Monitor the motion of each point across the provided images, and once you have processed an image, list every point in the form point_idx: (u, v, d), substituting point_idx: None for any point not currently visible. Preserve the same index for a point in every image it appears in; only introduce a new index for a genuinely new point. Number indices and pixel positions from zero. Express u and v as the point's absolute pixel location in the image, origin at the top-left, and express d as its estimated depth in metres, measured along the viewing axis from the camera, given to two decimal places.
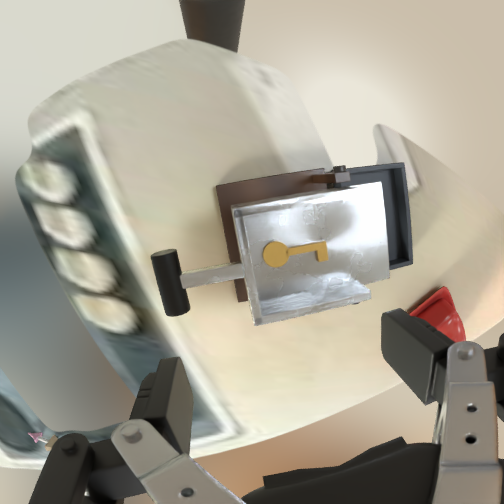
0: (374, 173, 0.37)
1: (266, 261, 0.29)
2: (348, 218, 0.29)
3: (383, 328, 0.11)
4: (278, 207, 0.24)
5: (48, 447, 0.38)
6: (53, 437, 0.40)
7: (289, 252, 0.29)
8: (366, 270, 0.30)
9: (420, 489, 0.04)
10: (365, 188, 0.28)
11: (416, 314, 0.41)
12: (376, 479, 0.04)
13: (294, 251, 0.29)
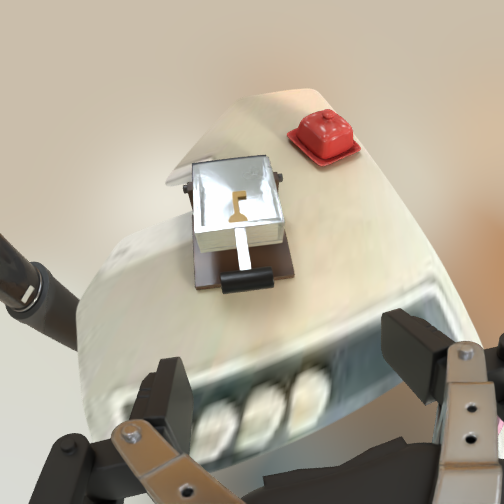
0: None
1: None
2: (218, 181, 0.43)
3: (383, 328, 0.11)
4: (198, 207, 0.36)
5: None
6: None
7: (237, 213, 0.40)
8: (256, 169, 0.44)
9: (420, 489, 0.04)
10: (199, 172, 0.44)
11: (308, 151, 0.57)
12: (376, 479, 0.04)
13: (236, 209, 0.40)
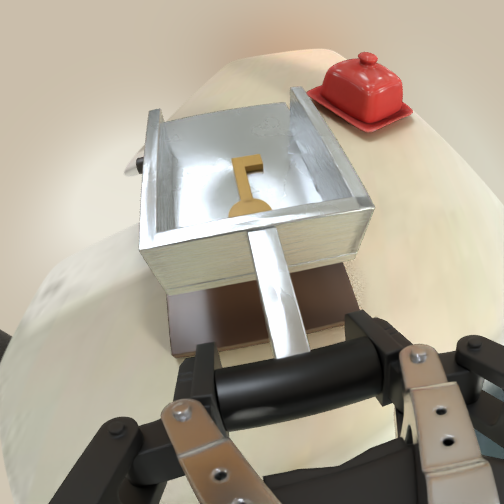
0: None
1: None
2: (204, 143, 0.21)
3: (346, 329, 0.12)
4: (151, 185, 0.14)
5: None
6: None
7: (246, 198, 0.17)
8: (275, 121, 0.22)
9: (420, 489, 0.04)
10: (167, 134, 0.22)
11: (343, 113, 0.35)
12: (376, 479, 0.04)
13: (245, 191, 0.18)
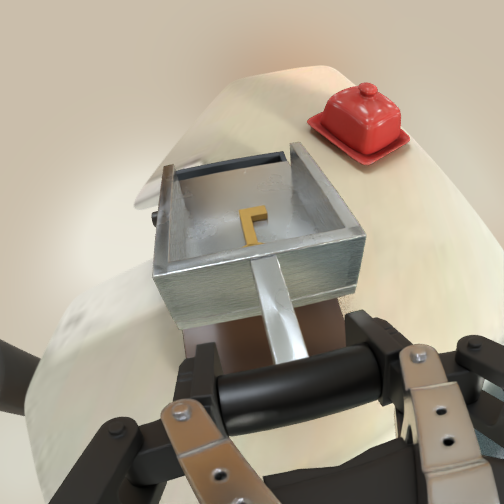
0: None
1: None
2: (213, 198, 0.24)
3: (346, 329, 0.12)
4: (165, 225, 0.16)
5: None
6: None
7: (252, 243, 0.19)
8: (279, 177, 0.25)
9: (420, 489, 0.04)
10: (180, 191, 0.25)
11: (342, 143, 0.38)
12: (376, 479, 0.04)
13: (251, 236, 0.20)
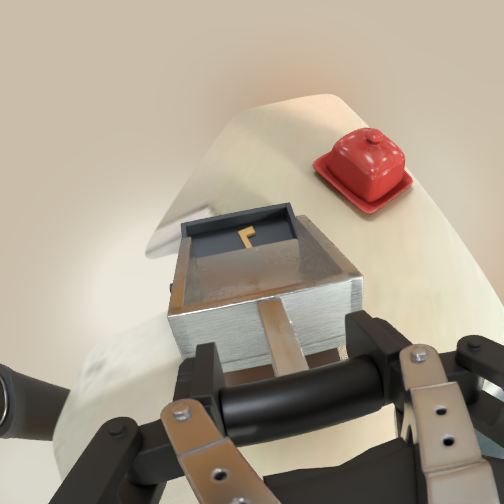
0: None
1: None
2: (227, 271, 0.26)
3: (346, 329, 0.12)
4: (181, 280, 0.18)
5: None
6: None
7: None
8: (288, 252, 0.28)
9: (419, 489, 0.04)
10: (197, 266, 0.28)
11: (346, 190, 0.40)
12: (376, 479, 0.04)
13: None
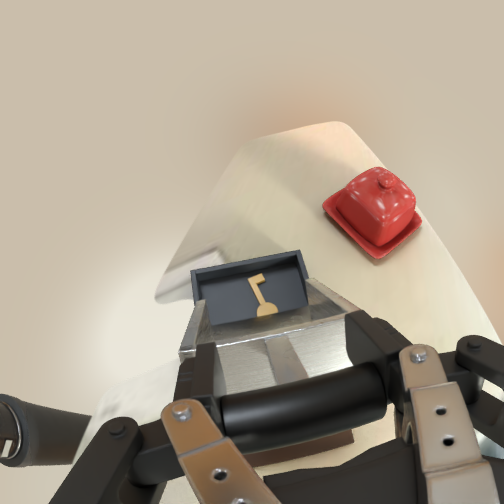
0: None
1: None
2: (241, 334, 0.26)
3: (346, 329, 0.12)
4: (194, 327, 0.19)
5: None
6: None
7: (262, 303, 0.36)
8: (299, 316, 0.28)
9: (420, 489, 0.04)
10: (212, 331, 0.28)
11: (356, 233, 0.40)
12: (376, 479, 0.04)
13: (261, 299, 0.36)
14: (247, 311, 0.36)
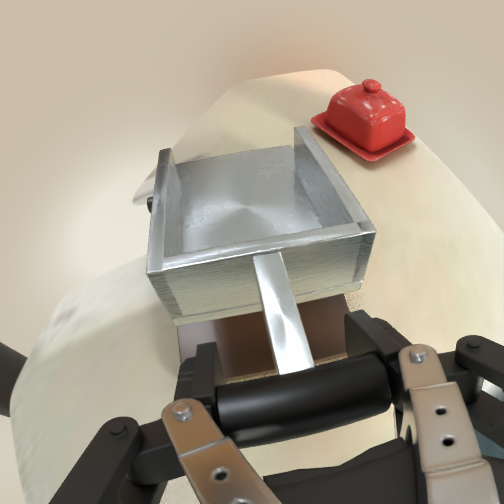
0: None
1: None
2: (212, 184, 0.23)
3: (346, 329, 0.12)
4: (160, 215, 0.15)
5: None
6: None
7: None
8: (281, 162, 0.24)
9: (420, 489, 0.04)
10: (177, 175, 0.24)
11: (346, 141, 0.37)
12: (376, 479, 0.04)
13: None
14: None
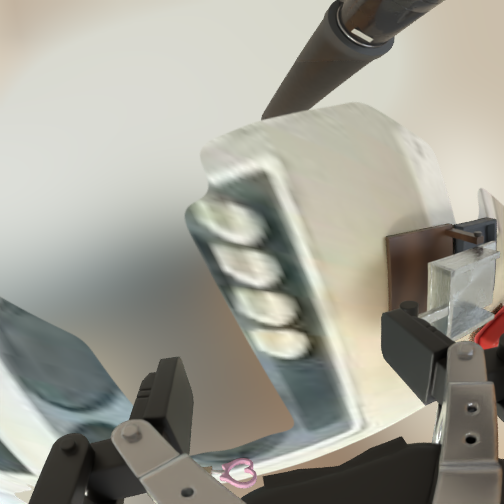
0: None
1: None
2: (480, 267, 0.36)
3: (383, 328, 0.11)
4: (469, 268, 0.31)
5: None
6: None
7: None
8: (483, 299, 0.37)
9: (420, 489, 0.04)
10: (489, 247, 0.36)
11: (489, 324, 0.48)
12: (376, 479, 0.04)
13: None
14: None
